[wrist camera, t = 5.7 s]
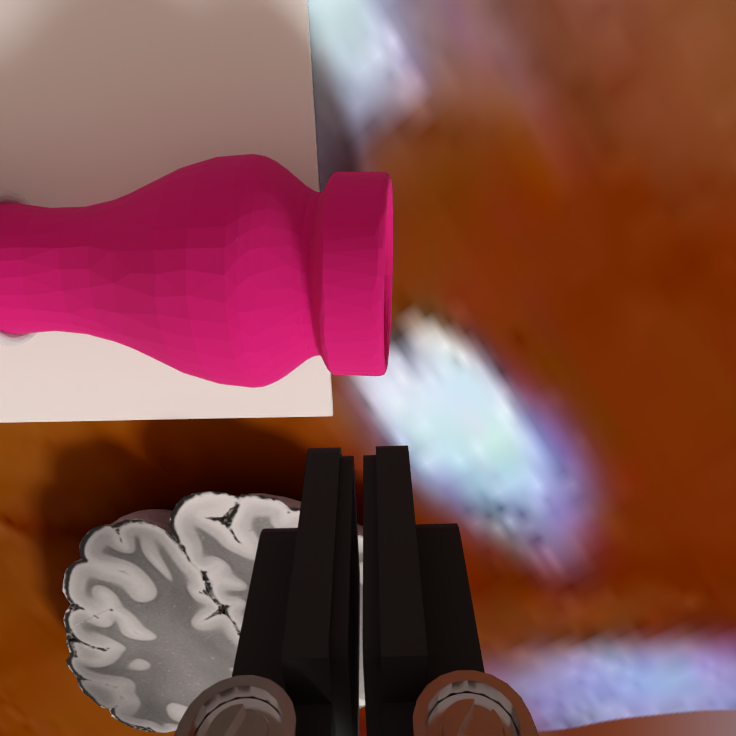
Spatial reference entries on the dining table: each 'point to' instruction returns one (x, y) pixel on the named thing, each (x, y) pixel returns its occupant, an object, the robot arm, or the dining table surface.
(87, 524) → the dining table surface
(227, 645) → the brain slice
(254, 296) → the pepper mill
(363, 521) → the robot arm
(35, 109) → the white mat
